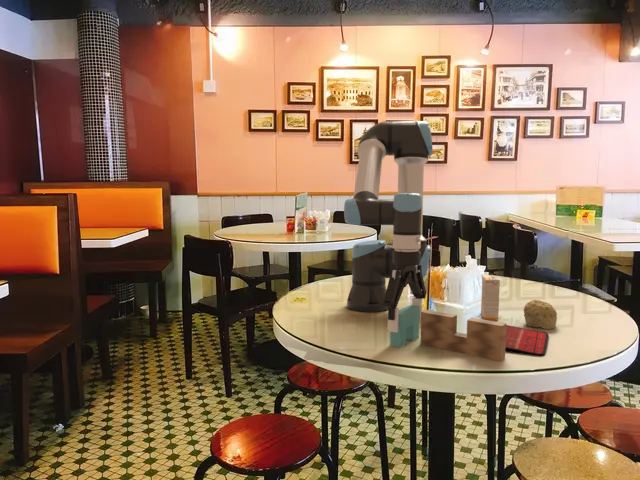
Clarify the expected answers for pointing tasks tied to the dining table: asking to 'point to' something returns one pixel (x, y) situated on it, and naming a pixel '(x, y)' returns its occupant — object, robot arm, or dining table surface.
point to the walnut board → (464, 335)
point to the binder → (526, 341)
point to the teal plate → (406, 326)
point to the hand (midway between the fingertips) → (405, 326)
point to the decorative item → (540, 314)
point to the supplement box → (490, 297)
